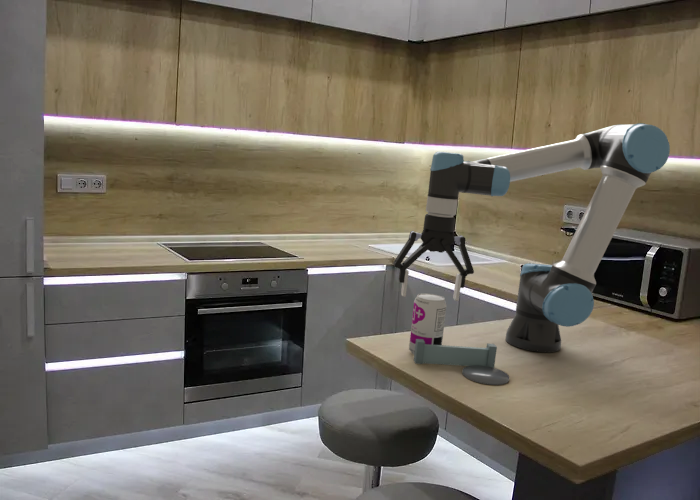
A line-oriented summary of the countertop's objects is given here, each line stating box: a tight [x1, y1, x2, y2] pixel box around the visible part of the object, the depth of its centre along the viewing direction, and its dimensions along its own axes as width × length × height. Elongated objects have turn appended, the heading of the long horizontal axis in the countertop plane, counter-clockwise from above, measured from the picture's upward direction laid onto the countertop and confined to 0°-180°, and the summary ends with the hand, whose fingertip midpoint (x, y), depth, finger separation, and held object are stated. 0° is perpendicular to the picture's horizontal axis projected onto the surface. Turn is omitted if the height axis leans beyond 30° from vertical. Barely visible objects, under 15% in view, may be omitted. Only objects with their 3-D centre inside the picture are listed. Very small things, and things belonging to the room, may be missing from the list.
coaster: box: [461, 365, 510, 386], centre depth 153 cm, size 11×11×1 cm
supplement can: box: [408, 292, 447, 355], centre depth 164 cm, size 8×8×15 cm
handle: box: [413, 339, 498, 368], centre depth 159 cm, size 20×2×6 cm, turn 95°
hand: (429, 297), depth 163 cm, fingers open, 13 cm apart
